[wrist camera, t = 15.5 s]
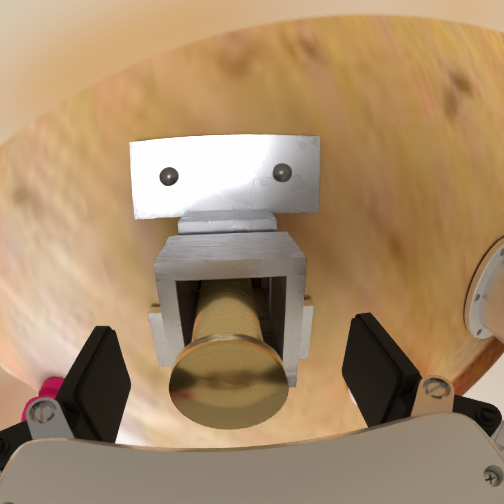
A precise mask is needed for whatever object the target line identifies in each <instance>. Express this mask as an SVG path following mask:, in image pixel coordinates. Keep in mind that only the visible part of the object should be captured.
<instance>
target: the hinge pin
mask: <svg viewBox="0 0 504 504" xmlns="http://www.w3.org/2000/svg"><path fill="white" fill-rule="evenodd" d="M288 391H289V385H288V380H287V376H286V373H285V369H284V365H283V363H282V360H281V358H280V357H279V355H278V354H277V352H276V351H275V350H274V349H273V348H272V347H270V346H269V345H268V344H266V343H265V342H263V338H262V333H261V328H260V323H259V318H258V313H257V308H256V303H255V298H254V293H253V288H252V283H251V278H234V279H210V280H202V282H201V288H200V293H199V299H198V305H197V311H196V317H195V323H194V329H193V336H192V342H191V343H190V344H188V345H187V346H186V347H185V348H183V349H182V351H181V352H180V353H179V354H178V356H177V357H176V359H175V361H174V364H173V368H172V373H171V378H170V383H169V393H170V397H171V400H172V402H173V403H174V405H175V406H176V408H177V409H178V410H179V411H180V412H181V413H182V414H183V415H184V416H186V417H187V418H189V419H190V420H192V421H194V422H196V423H198V424H201V425H204V426H207V427H211V428H216V429H241V428H247V427H251V426H254V425H257V424H260V423H262V422H264V421H266V420H267V419H269V418H271V417H272V416H273V415H275V414H276V413H277V412H278V411H279V410H280V409H281V407H282V406H283V405H284V403H285V401H286V399H287V396H288Z"/></svg>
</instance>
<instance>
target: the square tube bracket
mask: <svg viewBox="0 0 504 504" xmlns="http://www.w3.org/2000/svg"><path fill="white" fill-rule="evenodd" d="M306 258H307V257H306V255H305V254H304V253H303V252H302V250H301V249H300V248H299V246H298V245H297V244H296V243H295V241H294V240H293V239H292V238H291V236H290V235H289V234H288V232H287V231H284V232H254V233H227V234H203V235H181V236H169V238H168V240H167V241H166V243H165V245H164V247H163V248H162V250H161V252H160V253H159V255H158V257H157V259H156V260H155V262H154V268H155V275H156V282H157V289H158V296H159V302H160V307H150V310H149V312H148V316H149V321H150V326H151V331H152V336H153V340H154V345H155V349H156V354H157V358H158V362H159V366H172V368H173V364H174V361H175V359H176V357H177V356H178V354H179V353H180V352H181V351H182V349H183V348H185V347H186V346H187V345H188V344H190V343H191V342H192V336H193V329H194V324H193V316H192V308H191V299H190V290H189V280H210V279H234V278H255V277H271V320H260V321H259V323H260V328H261V333H262V338H263V342H265V343H266V344H268V345H269V346H270V347H272V348H273V349H274V350H275V351H276V352H277V354H278V355H279V357H280V358H281V360H282V363H283V365H284V369H285V373H286V376H287V380H288V385H289V387H296V380H297V371H298V362H299V359H308V355H309V346H310V338H311V328H312V318H313V308H314V305H313V303H312V302H311V300H310V299H308V300H304V291H305V276H306Z"/></svg>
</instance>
